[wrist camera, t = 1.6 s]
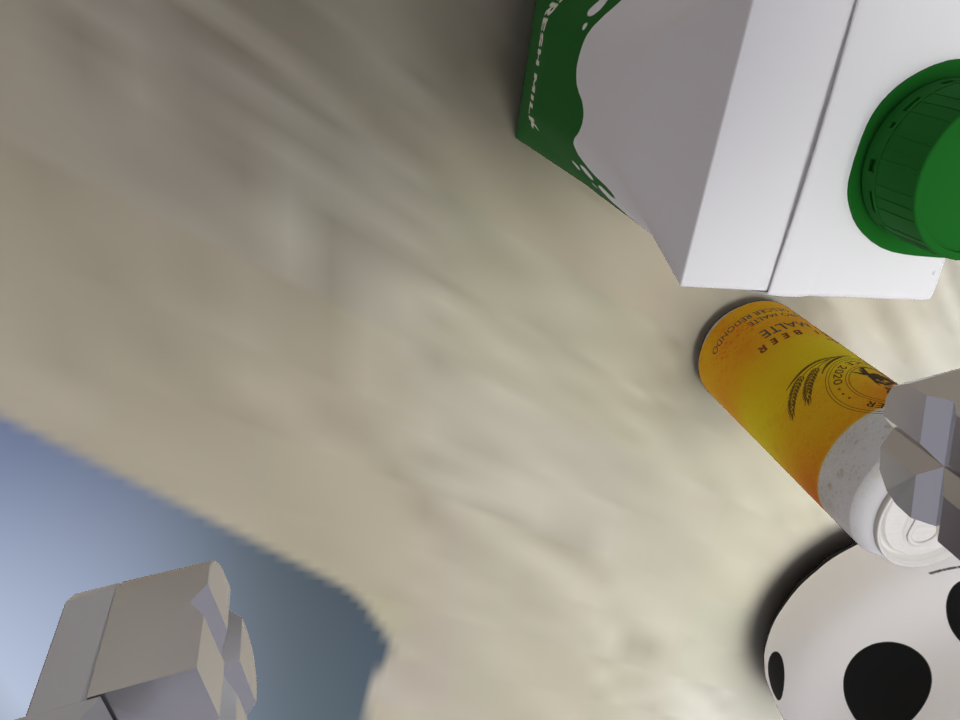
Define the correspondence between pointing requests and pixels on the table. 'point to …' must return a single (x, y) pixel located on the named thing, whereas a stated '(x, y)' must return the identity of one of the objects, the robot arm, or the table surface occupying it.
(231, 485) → the table surface
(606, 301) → the table surface
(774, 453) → the beer can
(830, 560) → the milk container
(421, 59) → the table surface
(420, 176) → the table surface
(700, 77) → the white carton
